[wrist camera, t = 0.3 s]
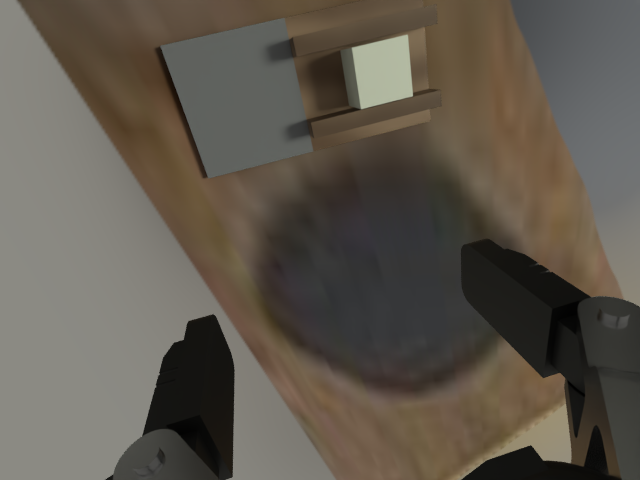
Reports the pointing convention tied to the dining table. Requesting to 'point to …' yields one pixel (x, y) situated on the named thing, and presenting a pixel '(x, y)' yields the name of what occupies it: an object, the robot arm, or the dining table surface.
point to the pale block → (377, 72)
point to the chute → (328, 76)
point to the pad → (240, 96)
